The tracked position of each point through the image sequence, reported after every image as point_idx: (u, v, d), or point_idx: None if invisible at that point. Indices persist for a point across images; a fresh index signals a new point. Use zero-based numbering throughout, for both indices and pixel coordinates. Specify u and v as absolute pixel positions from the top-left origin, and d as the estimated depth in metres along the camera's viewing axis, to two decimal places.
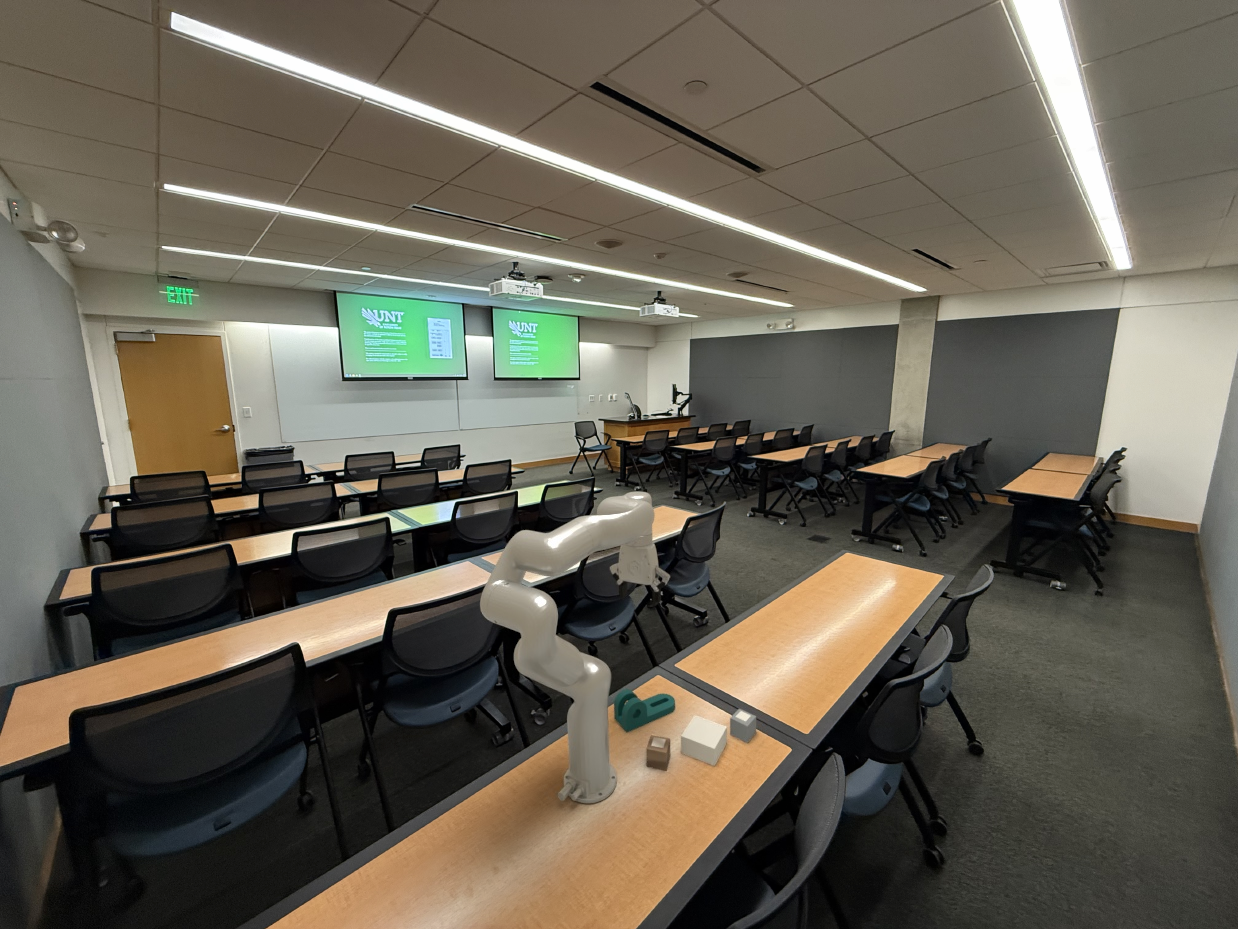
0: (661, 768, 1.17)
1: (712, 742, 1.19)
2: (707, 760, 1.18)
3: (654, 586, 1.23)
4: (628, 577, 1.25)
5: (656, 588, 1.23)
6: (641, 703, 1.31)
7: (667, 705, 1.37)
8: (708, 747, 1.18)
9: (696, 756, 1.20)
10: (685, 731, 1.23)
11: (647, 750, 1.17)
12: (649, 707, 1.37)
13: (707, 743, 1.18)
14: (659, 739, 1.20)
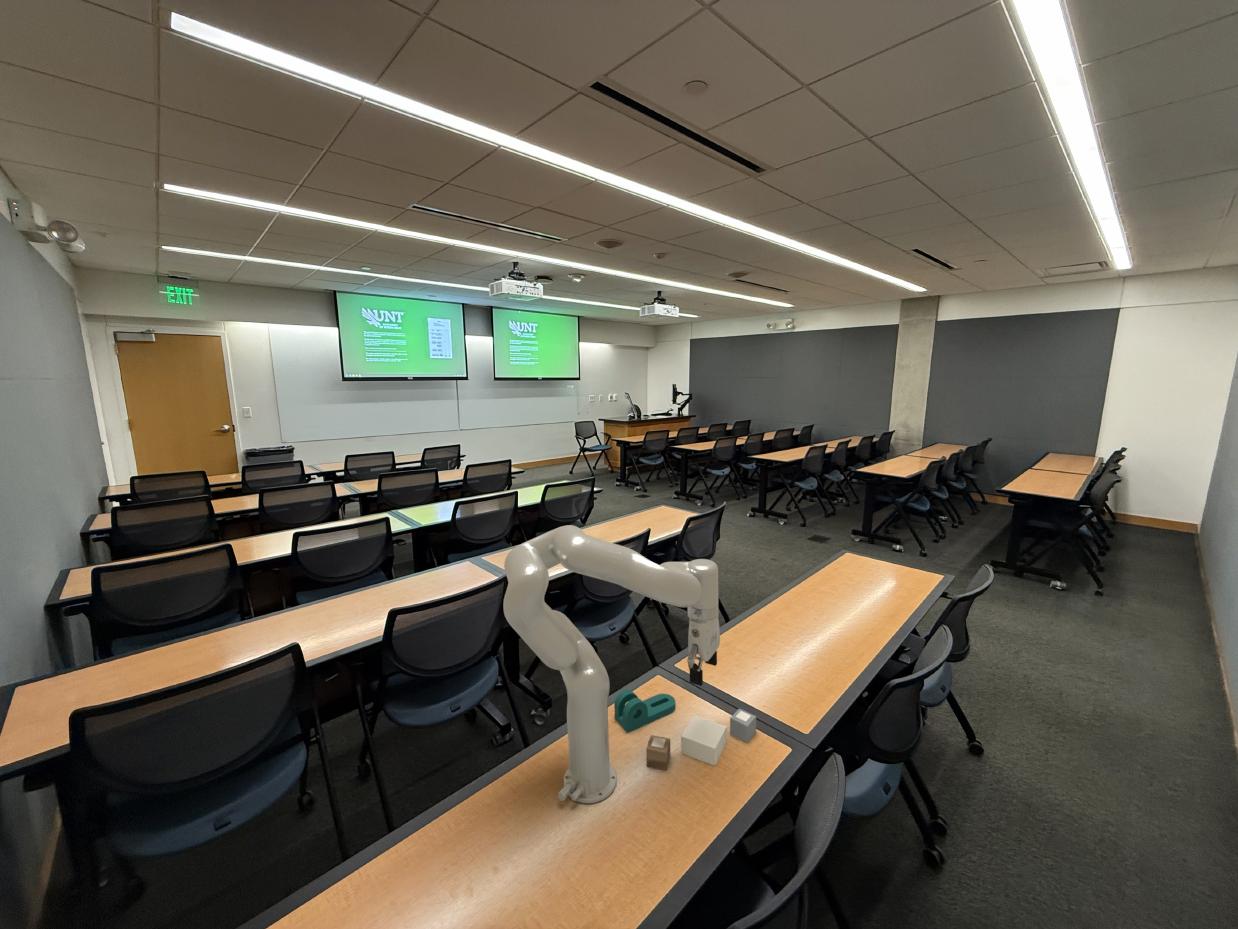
0: (661, 768, 1.17)
1: (712, 742, 1.19)
2: (707, 760, 1.18)
3: None
4: (711, 653, 1.16)
5: None
6: (642, 703, 1.31)
7: (667, 705, 1.37)
8: (708, 747, 1.18)
9: (696, 756, 1.20)
10: (685, 731, 1.23)
11: (647, 750, 1.17)
12: (649, 707, 1.37)
13: (708, 743, 1.18)
14: (659, 739, 1.20)
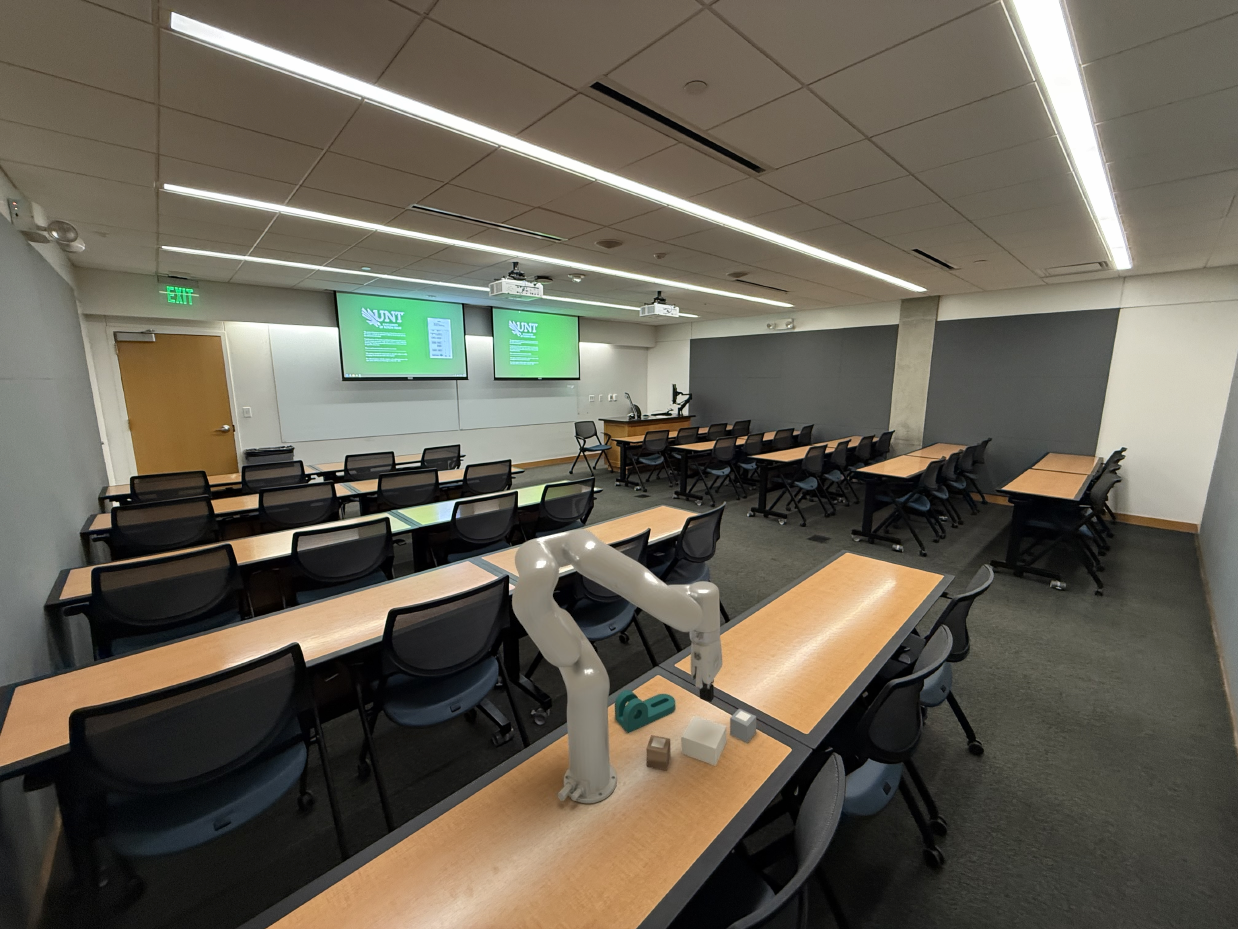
0: (661, 768, 1.17)
1: (713, 742, 1.19)
2: (708, 760, 1.18)
3: None
4: (713, 675, 1.17)
5: (713, 679, 1.21)
6: (642, 704, 1.31)
7: (667, 705, 1.37)
8: (709, 747, 1.18)
9: (697, 756, 1.20)
10: (685, 732, 1.23)
11: (647, 750, 1.17)
12: (650, 708, 1.36)
13: (708, 743, 1.18)
14: (659, 739, 1.20)
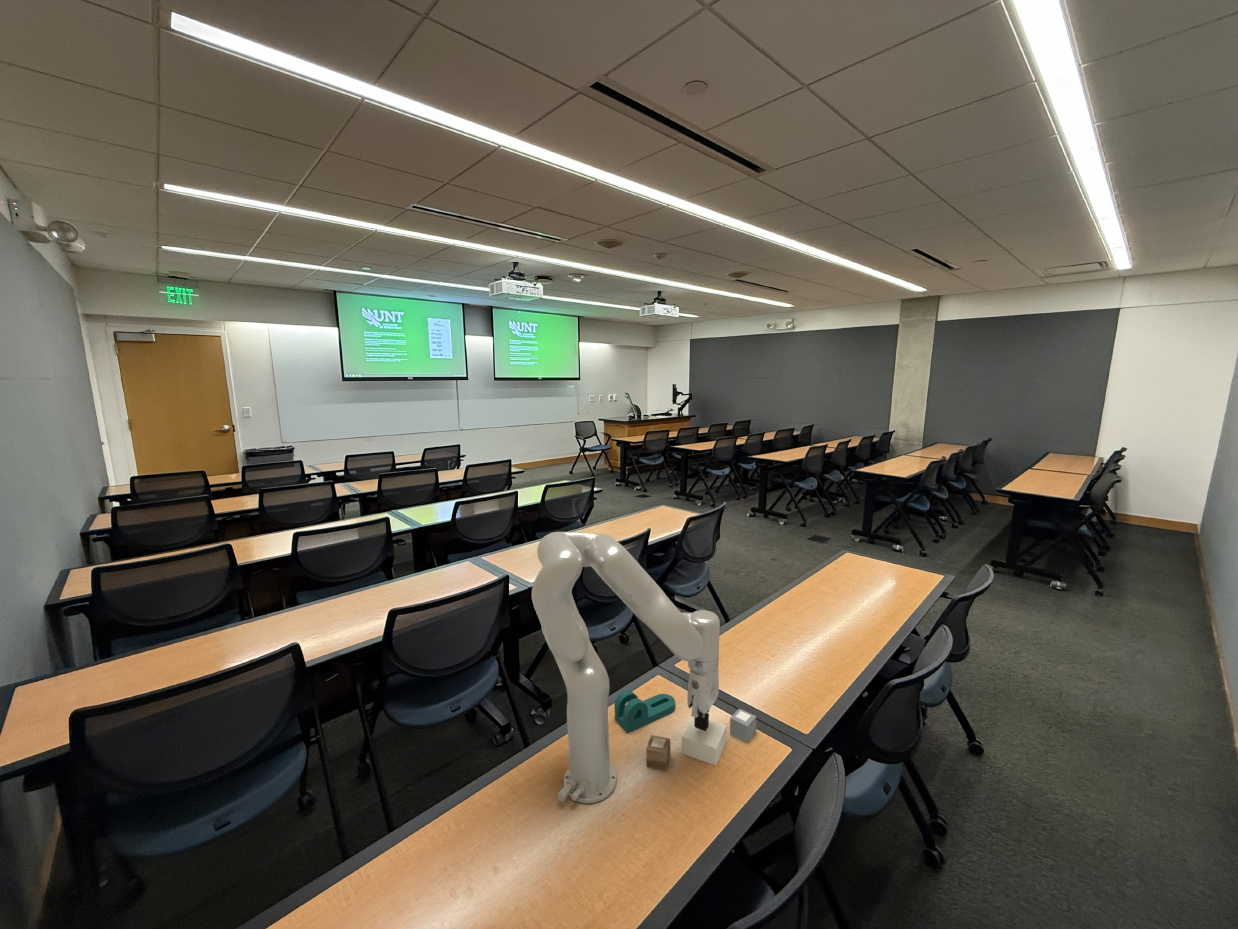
0: (661, 768, 1.17)
1: (713, 741, 1.19)
2: (708, 760, 1.18)
3: None
4: (709, 704, 1.18)
5: (708, 709, 1.22)
6: (642, 704, 1.31)
7: (667, 705, 1.37)
8: (709, 747, 1.18)
9: (697, 756, 1.20)
10: (685, 732, 1.23)
11: (647, 750, 1.17)
12: (649, 708, 1.36)
13: (709, 743, 1.18)
14: (659, 739, 1.20)
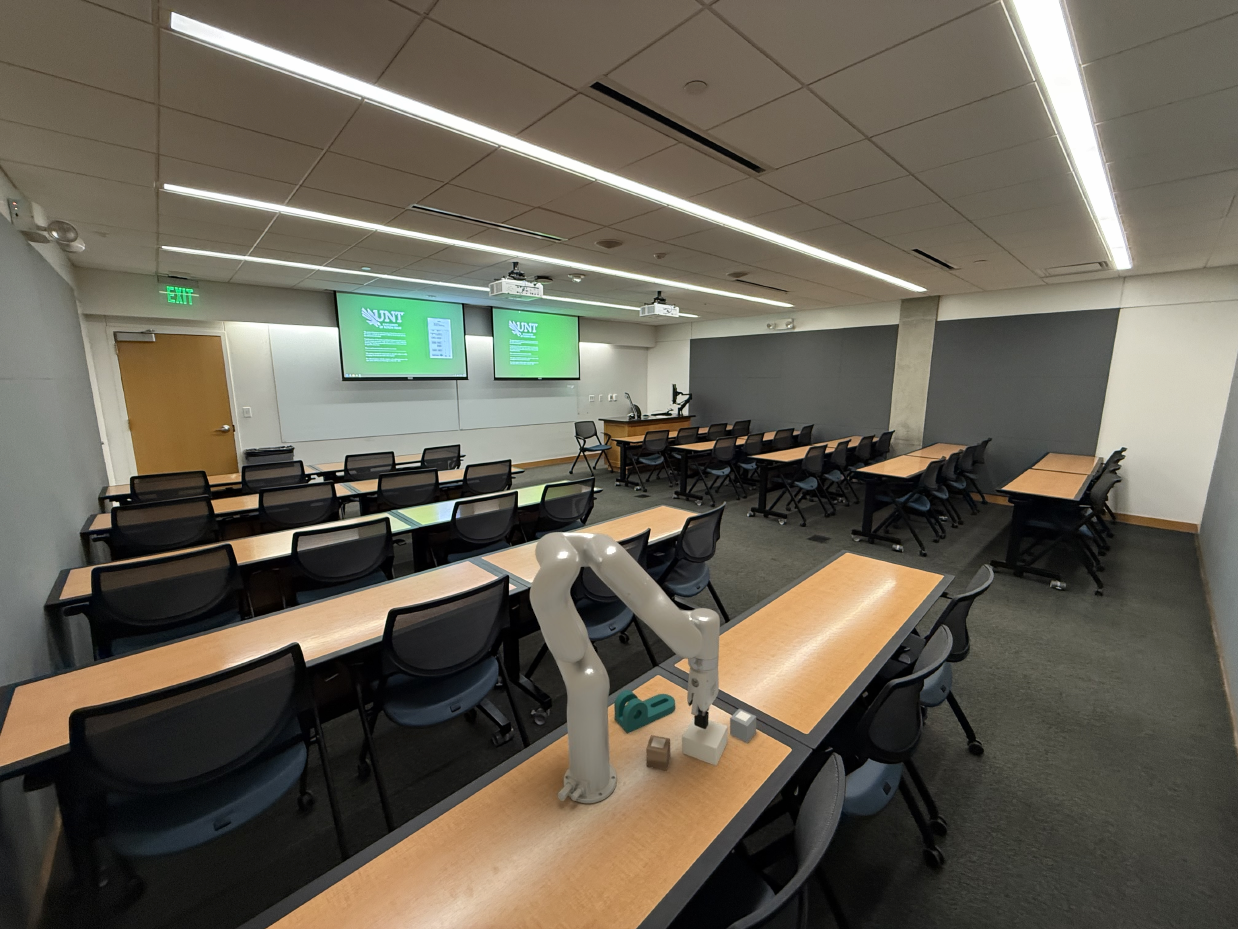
0: (661, 768, 1.17)
1: (714, 742, 1.19)
2: (709, 760, 1.18)
3: None
4: (709, 702, 1.18)
5: (708, 707, 1.22)
6: (642, 704, 1.31)
7: (667, 705, 1.37)
8: (709, 747, 1.18)
9: (697, 756, 1.20)
10: (686, 731, 1.23)
11: (647, 750, 1.17)
12: (649, 708, 1.36)
13: (709, 743, 1.18)
14: (659, 739, 1.20)
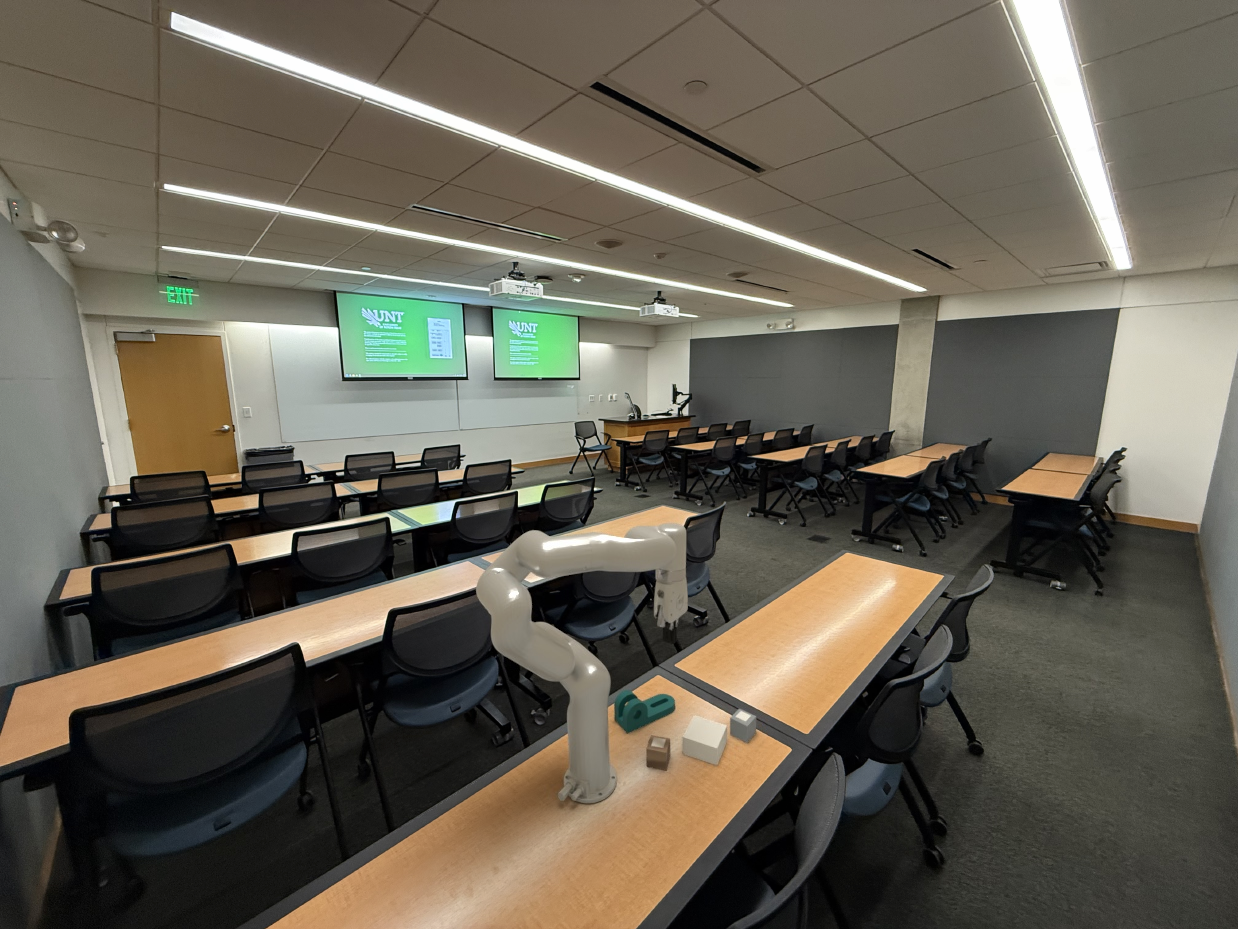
0: (661, 768, 1.17)
1: (714, 741, 1.19)
2: (709, 760, 1.18)
3: (677, 620, 1.22)
4: (676, 615, 1.18)
5: (677, 623, 1.22)
6: (642, 704, 1.31)
7: (667, 705, 1.37)
8: (710, 747, 1.18)
9: (698, 756, 1.20)
10: (686, 732, 1.23)
11: (647, 750, 1.17)
12: (649, 708, 1.36)
13: (710, 743, 1.18)
14: (659, 739, 1.20)
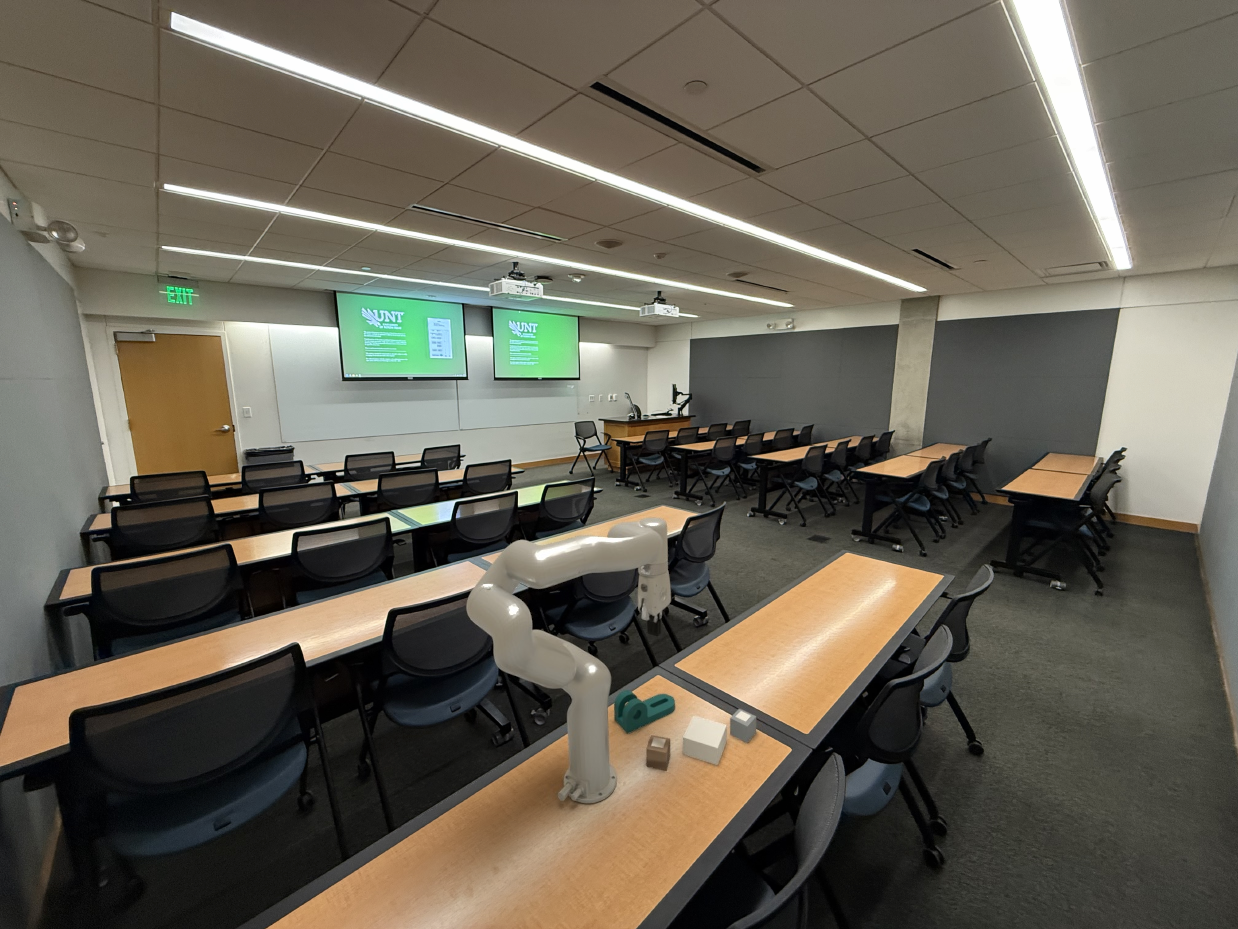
0: (661, 768, 1.17)
1: (714, 741, 1.19)
2: (710, 760, 1.18)
3: (661, 612, 1.24)
4: (660, 608, 1.20)
5: (660, 615, 1.24)
6: (641, 704, 1.31)
7: (667, 705, 1.37)
8: (711, 747, 1.18)
9: (698, 756, 1.20)
10: (686, 732, 1.22)
11: (647, 750, 1.17)
12: (649, 708, 1.36)
13: (710, 743, 1.18)
14: (659, 739, 1.20)
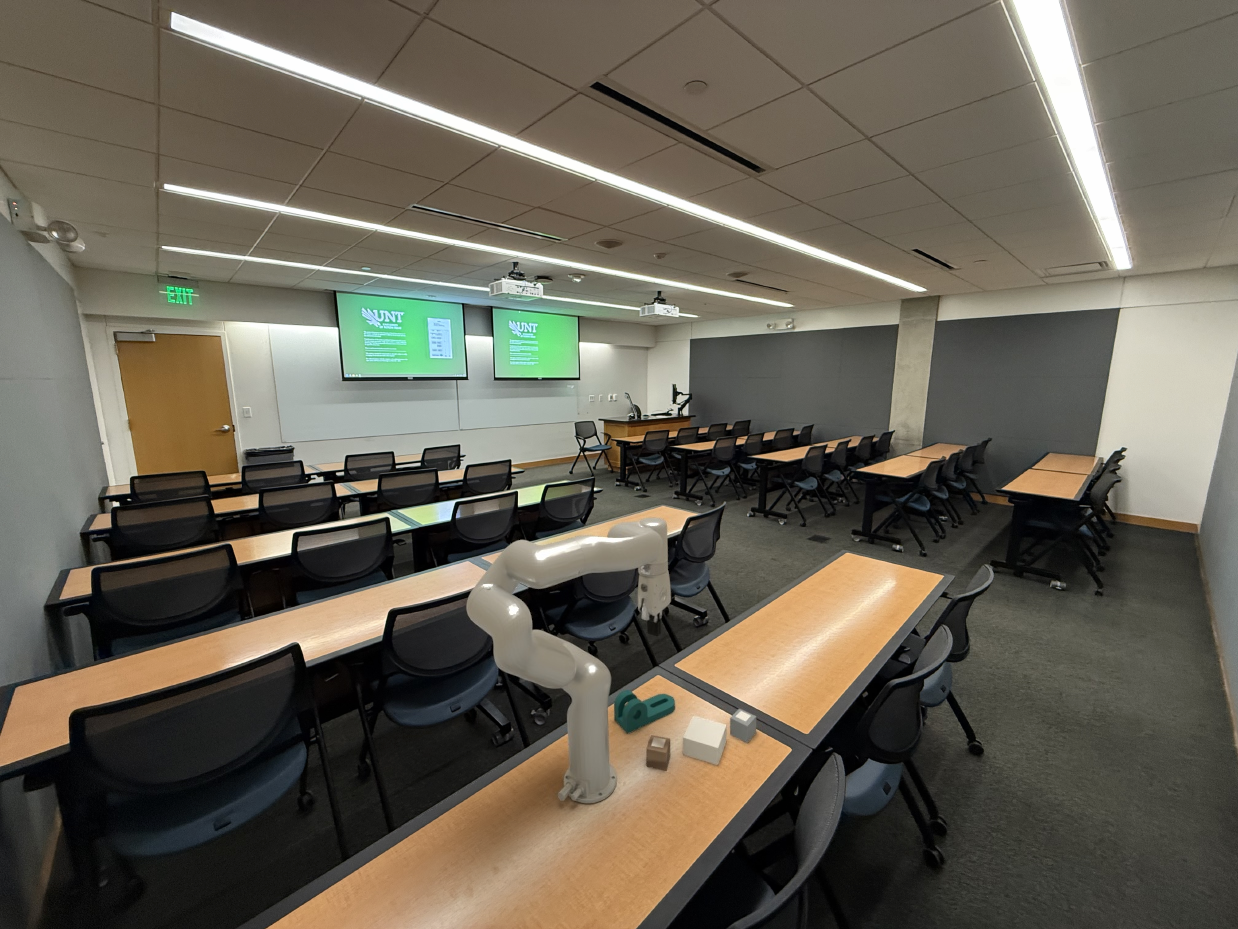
0: (661, 768, 1.17)
1: (715, 741, 1.19)
2: (710, 760, 1.18)
3: (661, 612, 1.24)
4: (660, 608, 1.20)
5: (660, 615, 1.24)
6: (641, 704, 1.31)
7: (667, 705, 1.37)
8: (711, 747, 1.18)
9: (699, 757, 1.20)
10: (686, 732, 1.22)
11: (647, 750, 1.17)
12: (649, 708, 1.36)
13: (710, 743, 1.18)
14: (659, 739, 1.20)
